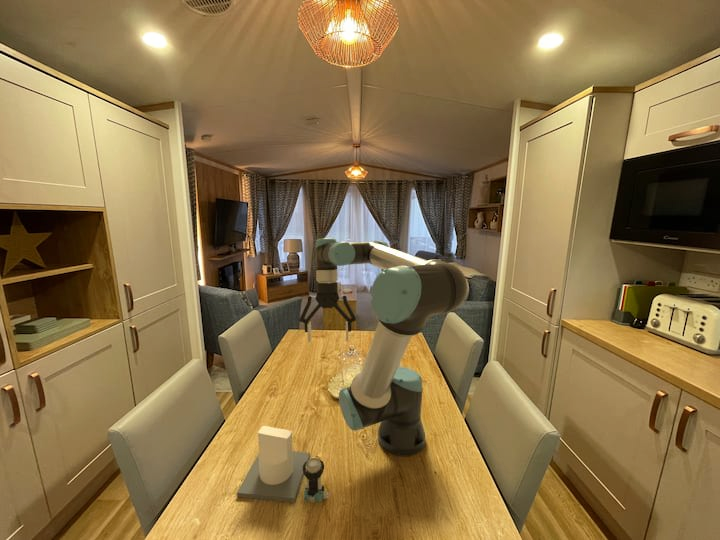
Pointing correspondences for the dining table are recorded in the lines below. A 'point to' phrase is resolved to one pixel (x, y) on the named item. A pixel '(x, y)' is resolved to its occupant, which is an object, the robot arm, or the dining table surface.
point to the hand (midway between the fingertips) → (328, 341)
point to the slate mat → (278, 492)
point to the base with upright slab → (275, 455)
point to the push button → (314, 480)
